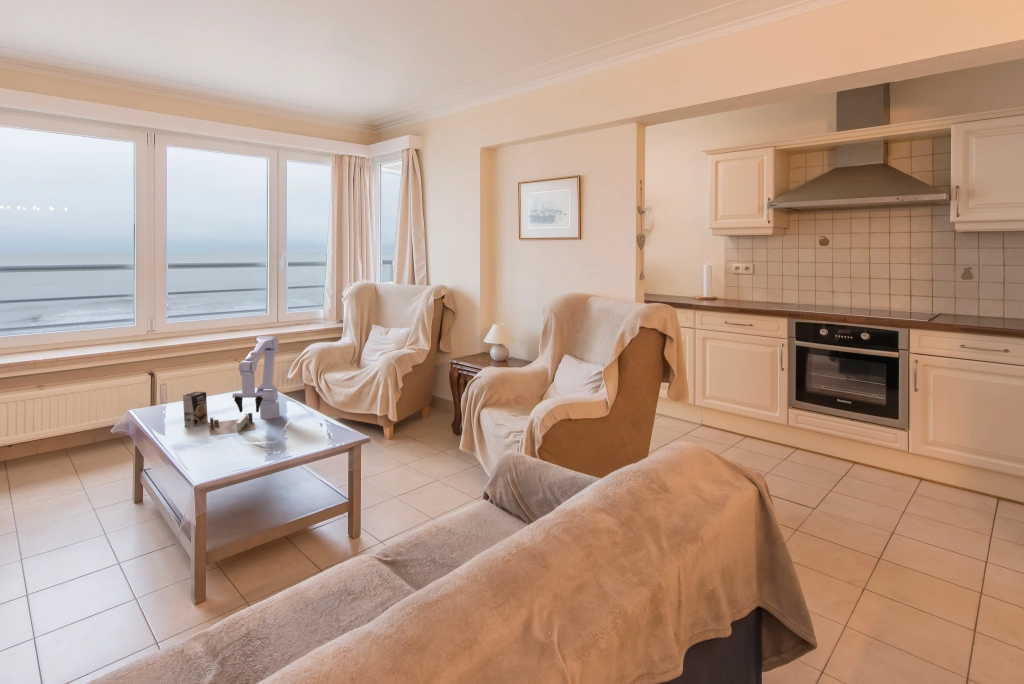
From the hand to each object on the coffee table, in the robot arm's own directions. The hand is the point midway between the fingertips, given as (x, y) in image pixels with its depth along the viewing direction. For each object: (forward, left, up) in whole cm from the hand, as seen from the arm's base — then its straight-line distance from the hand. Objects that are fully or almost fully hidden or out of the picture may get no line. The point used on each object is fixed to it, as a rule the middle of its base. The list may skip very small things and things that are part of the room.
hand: (249, 411), depth 275 cm
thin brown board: (+7, -9, -10) cm, 15 cm away
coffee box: (+22, -23, -10) cm, 34 cm away
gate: (+3, -6, -9) cm, 11 cm away
